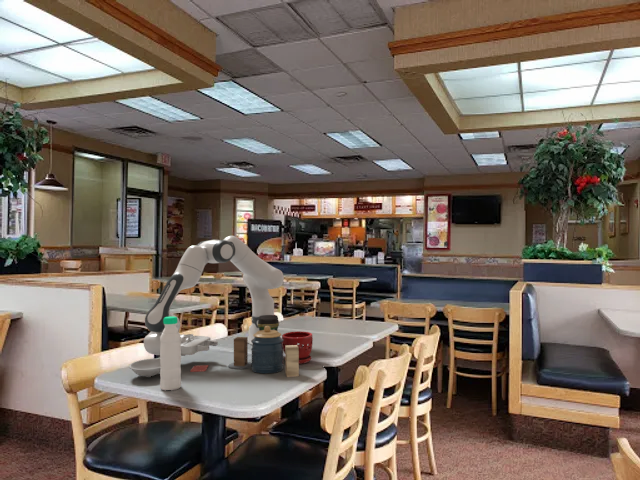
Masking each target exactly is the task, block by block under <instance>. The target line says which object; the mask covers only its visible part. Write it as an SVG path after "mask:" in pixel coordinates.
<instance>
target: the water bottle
mask: <svg viewBox="0 0 640 480" xmlns="http://www.w3.org/2000/svg"><path fill="white" fill-rule="evenodd" d="M177 317H178V316H177ZM177 317H174V316H171V317H165V318H164V320H163V323H164V325H165V328H164V330H163V333H162V334H161V337H160V341H161V345H160V355H159V359H160V365H161V370H160V373H159V374H160V375H159V376H160V380H159V387H160V389H161V390H162V391H166V390H171V391H176V390H178V389H180V388H181V387H182V377H181V376H182V368H181V364H182V363H181V362H182V356H181V343H180V340H181V335H180V334H181V333H180V331H179V332H178V329H177V328H176V325H177V321H178V320H177Z"/></svg>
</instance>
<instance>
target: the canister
mask: <svg viewBox="0 0 640 480" xmlns="http://www.w3.org/2000/svg"><path fill="white" fill-rule="evenodd" d="M253 336H254V339H252V340H251V342H252V344H253V345H252V344H251V346H252V347H251V349H250V350H251V367H250V369H251V371H252V372H254V373H257V374H274V373H275V374H276V373H279V372H281V371H283V370H284V366H285V365H284V364H285V363H284V350H283V345H282V342H283V339H282V338H281V337H280V336H282V333H281V332H279V330H278V331H276V330H271V328H270V327H269V326H265V327H264V330H261V331H257V332H256V333H255V334H253Z"/></svg>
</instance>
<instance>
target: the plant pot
mask: <svg viewBox="0 0 640 480" xmlns="http://www.w3.org/2000/svg"><path fill="white" fill-rule="evenodd" d="M281 336H282V339H283V342H282V347H283V354H285V346H287V345H297V346H298V347H299V365H301V364H307V363H309V362H310V361H311V360H312V355H311V353H312V350H313V341H314V339H313V333H311V332H309V331H288V332H285V333H283V334H281ZM283 360H285V356H283Z"/></svg>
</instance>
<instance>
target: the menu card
mask: <svg viewBox="0 0 640 480" xmlns="http://www.w3.org/2000/svg"><path fill="white" fill-rule="evenodd" d="M208 367H210V365H209V364H207V365H206V364H202V365H193V367H192V368H191V369H190V370H189V372H191V373H193V372H194V373H198V372H200V373H201V372H207V370H208Z"/></svg>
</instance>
